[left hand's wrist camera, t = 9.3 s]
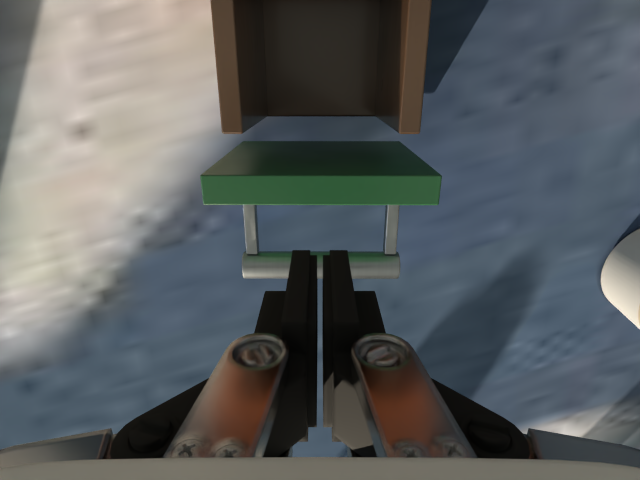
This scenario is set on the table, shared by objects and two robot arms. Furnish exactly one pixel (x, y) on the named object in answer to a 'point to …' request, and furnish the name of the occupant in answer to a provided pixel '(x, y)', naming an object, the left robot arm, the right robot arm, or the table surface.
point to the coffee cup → (624, 277)
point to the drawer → (321, 114)
